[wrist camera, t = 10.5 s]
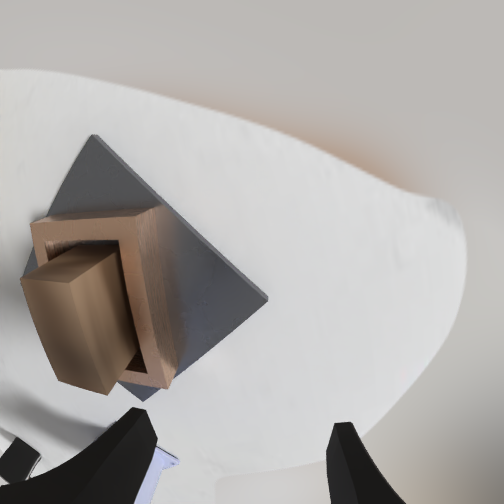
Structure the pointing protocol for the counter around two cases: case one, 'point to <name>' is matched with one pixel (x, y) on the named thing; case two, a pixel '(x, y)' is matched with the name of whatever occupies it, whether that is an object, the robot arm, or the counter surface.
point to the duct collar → (148, 265)
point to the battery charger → (18, 462)
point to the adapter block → (83, 316)
